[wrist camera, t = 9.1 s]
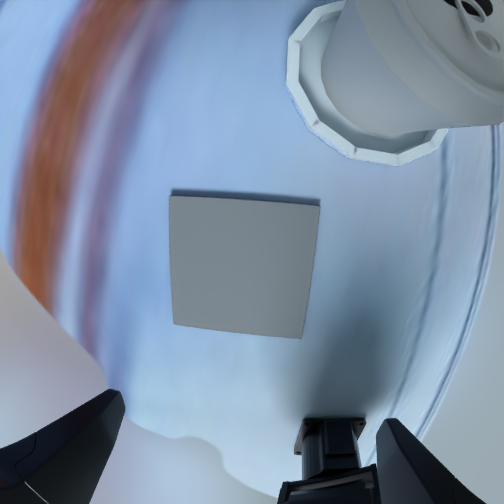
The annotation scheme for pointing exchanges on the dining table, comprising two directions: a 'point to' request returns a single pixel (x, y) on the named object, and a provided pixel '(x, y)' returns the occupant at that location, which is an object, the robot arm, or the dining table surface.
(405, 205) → the dining table surface
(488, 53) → the can
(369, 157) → the dish
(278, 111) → the dining table surface
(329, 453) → the robot arm
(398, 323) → the dining table surface
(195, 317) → the mat
